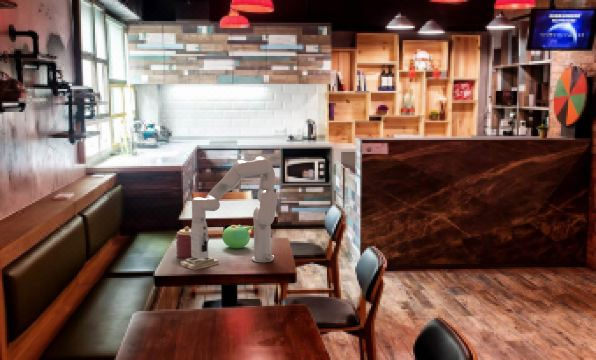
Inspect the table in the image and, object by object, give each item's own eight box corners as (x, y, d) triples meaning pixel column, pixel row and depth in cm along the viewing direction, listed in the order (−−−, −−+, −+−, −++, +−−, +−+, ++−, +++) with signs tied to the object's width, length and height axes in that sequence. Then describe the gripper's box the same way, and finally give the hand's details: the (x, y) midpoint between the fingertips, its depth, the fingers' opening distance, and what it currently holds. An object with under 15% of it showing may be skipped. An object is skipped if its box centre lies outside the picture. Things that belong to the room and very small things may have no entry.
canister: (174, 258, 374) (173, 229, 371) (178, 252, 387) (177, 224, 384) (197, 258, 374) (196, 229, 371) (199, 252, 387) (199, 224, 384)
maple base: (218, 263, 364) (218, 258, 364) (194, 270, 352) (194, 264, 352) (204, 259, 373) (204, 253, 373) (180, 265, 361) (180, 259, 361)
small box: (208, 257, 361) (208, 234, 359) (199, 259, 357) (198, 236, 355) (200, 254, 367) (200, 232, 365) (191, 256, 363) (190, 234, 361)
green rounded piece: (217, 247, 400) (217, 224, 397) (239, 242, 411) (238, 220, 409) (234, 252, 387) (234, 229, 384) (256, 248, 398) (256, 224, 396)
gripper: (213, 221, 355) (214, 251, 358) (194, 216, 367) (195, 245, 370) (203, 223, 350) (203, 254, 353) (184, 218, 362) (184, 248, 365)
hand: (199, 249), depth 361 cm, fingers closed on small box, 8 cm apart
